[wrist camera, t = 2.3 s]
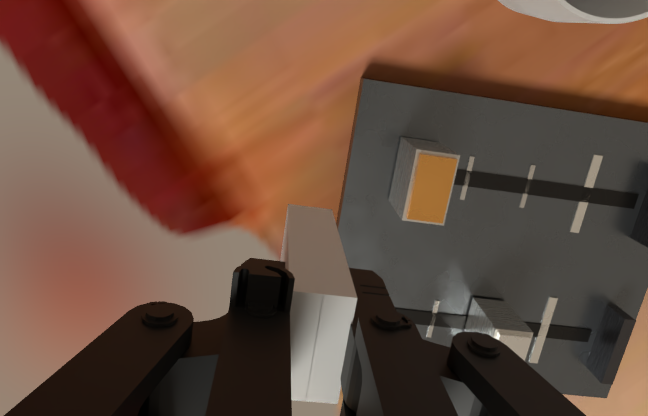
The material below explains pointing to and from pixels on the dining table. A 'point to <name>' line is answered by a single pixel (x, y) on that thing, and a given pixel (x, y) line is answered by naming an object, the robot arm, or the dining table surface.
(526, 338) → the far fader
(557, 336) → the console
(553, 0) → the cup
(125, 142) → the dining table surface
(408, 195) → the near fader
